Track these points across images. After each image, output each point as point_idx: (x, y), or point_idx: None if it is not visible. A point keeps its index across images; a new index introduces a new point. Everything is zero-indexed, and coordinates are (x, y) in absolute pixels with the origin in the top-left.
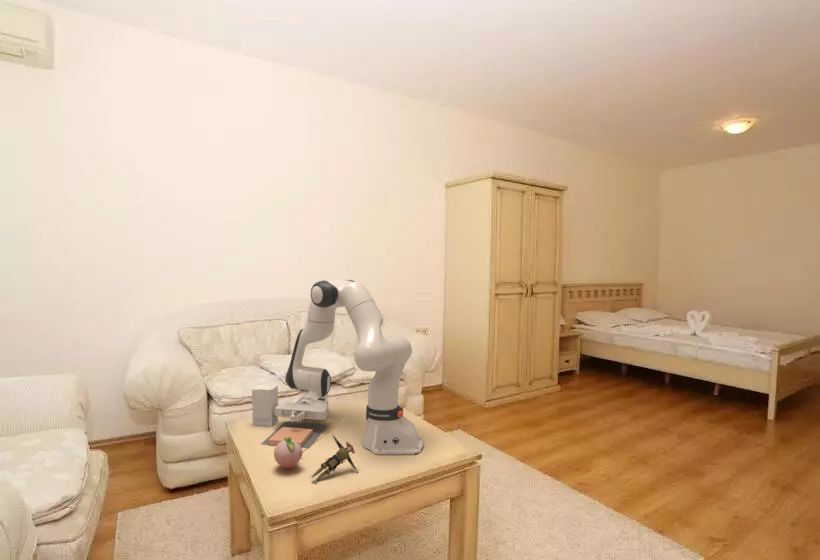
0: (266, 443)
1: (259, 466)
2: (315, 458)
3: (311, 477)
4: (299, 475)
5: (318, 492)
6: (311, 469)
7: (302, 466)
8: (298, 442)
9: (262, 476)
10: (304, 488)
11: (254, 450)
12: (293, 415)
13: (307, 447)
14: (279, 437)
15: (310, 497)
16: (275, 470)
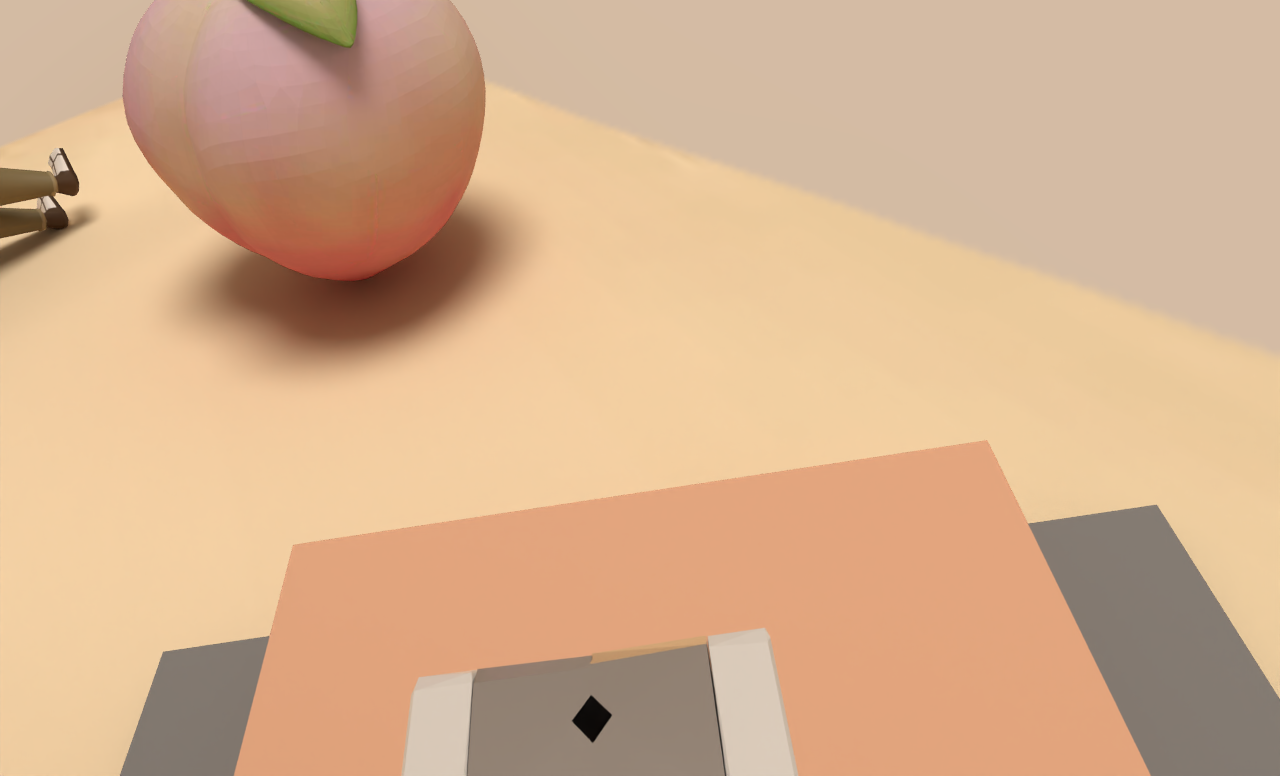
0: (1071, 554)
1: (696, 213)
2: (54, 498)
3: (76, 186)
4: (217, 240)
5: (32, 170)
6: (101, 327)
7: (212, 335)
8: (342, 538)
9: (561, 149)
10: (146, 165)
11: (1082, 394)
12: (651, 666)
13: (199, 669)
14: (845, 579)
15: (92, 132)
16: (486, 221)
